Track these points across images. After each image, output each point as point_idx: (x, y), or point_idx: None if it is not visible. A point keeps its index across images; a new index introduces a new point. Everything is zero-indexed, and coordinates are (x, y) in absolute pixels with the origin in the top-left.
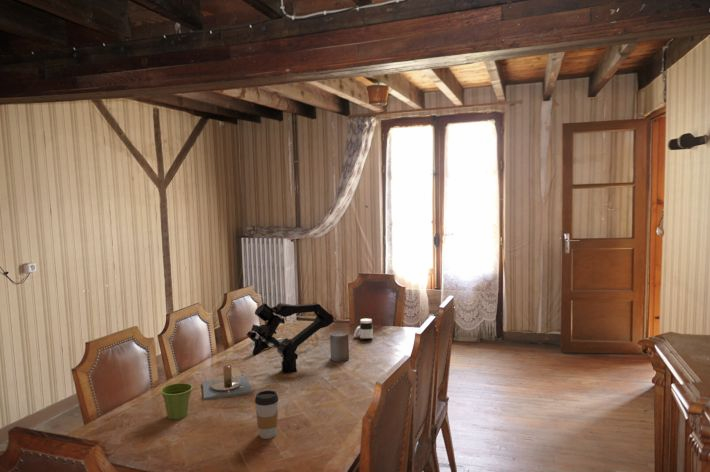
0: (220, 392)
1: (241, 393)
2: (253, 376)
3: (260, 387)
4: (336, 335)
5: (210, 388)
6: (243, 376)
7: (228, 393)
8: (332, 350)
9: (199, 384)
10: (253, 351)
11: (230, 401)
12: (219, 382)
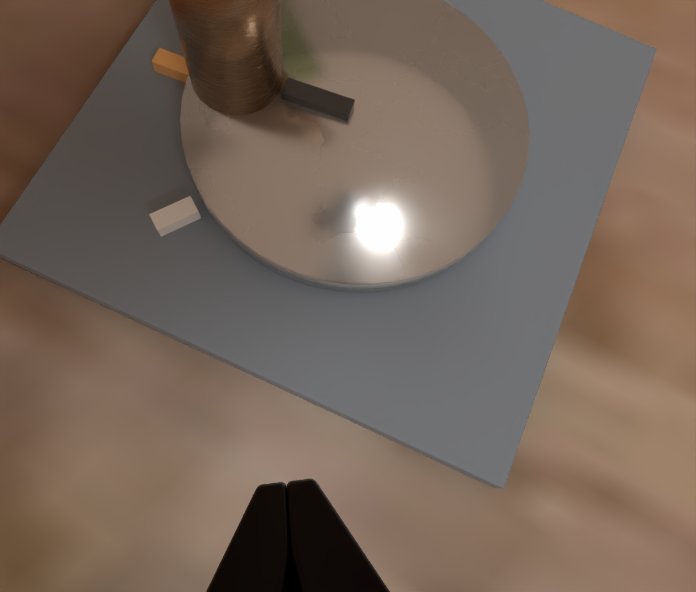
0: None
1: (56, 155)
2: (469, 583)
3: (59, 432)
4: None
5: None
6: (496, 437)
7: (150, 54)
8: None
9: (637, 36)
10: (327, 541)
11: (17, 16)
12: (426, 75)
